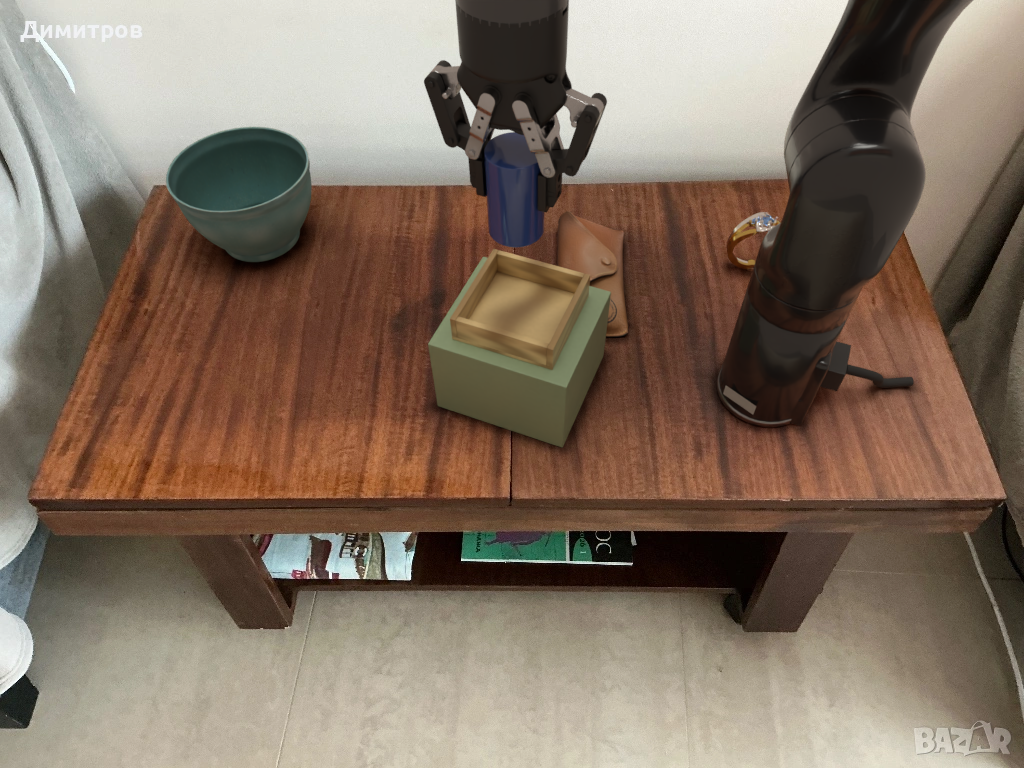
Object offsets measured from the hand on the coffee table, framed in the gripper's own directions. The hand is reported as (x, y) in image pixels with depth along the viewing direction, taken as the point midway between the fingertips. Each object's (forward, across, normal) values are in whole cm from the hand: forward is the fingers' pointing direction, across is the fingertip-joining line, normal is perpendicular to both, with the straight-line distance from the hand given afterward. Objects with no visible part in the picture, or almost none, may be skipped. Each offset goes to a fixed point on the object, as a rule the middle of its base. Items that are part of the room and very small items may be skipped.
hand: (515, 197), depth 64 cm
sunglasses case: (+25, +2, +17) cm, 30 cm away
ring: (+25, +19, +26) cm, 41 cm away
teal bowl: (+24, -39, +9) cm, 47 cm away
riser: (+24, 0, 0) cm, 24 cm away
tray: (+14, 0, 0) cm, 14 cm away
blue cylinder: (+3, 0, 0) cm, 3 cm away
